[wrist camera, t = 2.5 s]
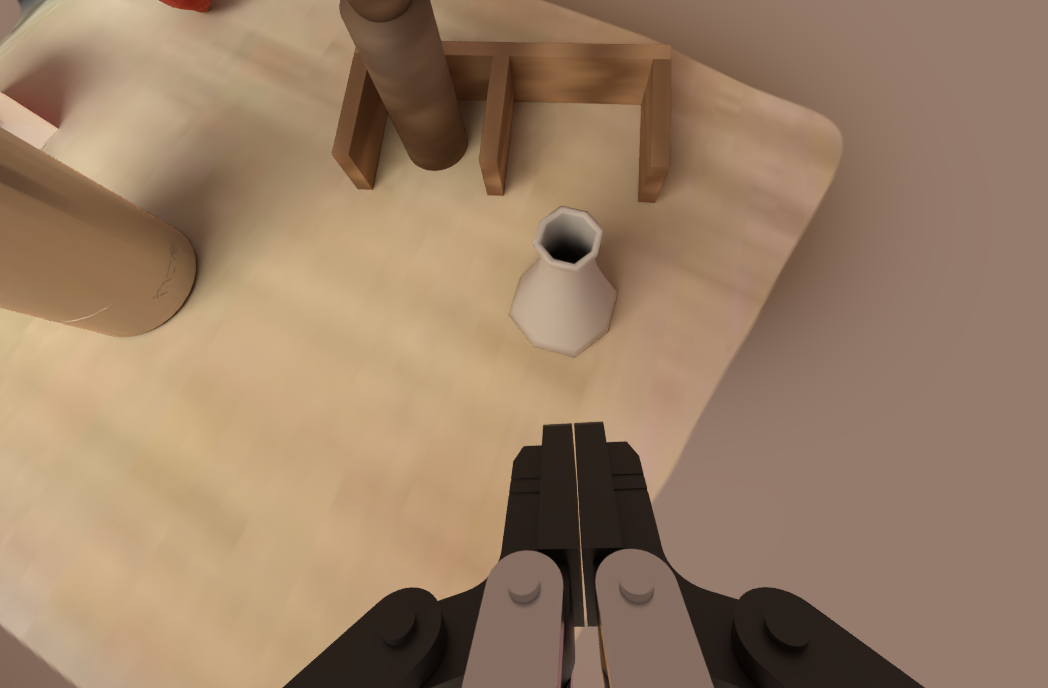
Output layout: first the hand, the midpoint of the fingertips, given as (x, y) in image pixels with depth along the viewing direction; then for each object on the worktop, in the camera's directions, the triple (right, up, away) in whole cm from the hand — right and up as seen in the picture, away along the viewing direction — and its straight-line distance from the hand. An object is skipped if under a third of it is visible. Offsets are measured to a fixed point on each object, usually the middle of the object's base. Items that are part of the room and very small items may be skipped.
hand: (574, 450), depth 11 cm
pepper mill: (-8, +19, +22) cm, 30 cm away
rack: (-2, +18, +22) cm, 29 cm away
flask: (+1, +5, +19) cm, 20 cm away
